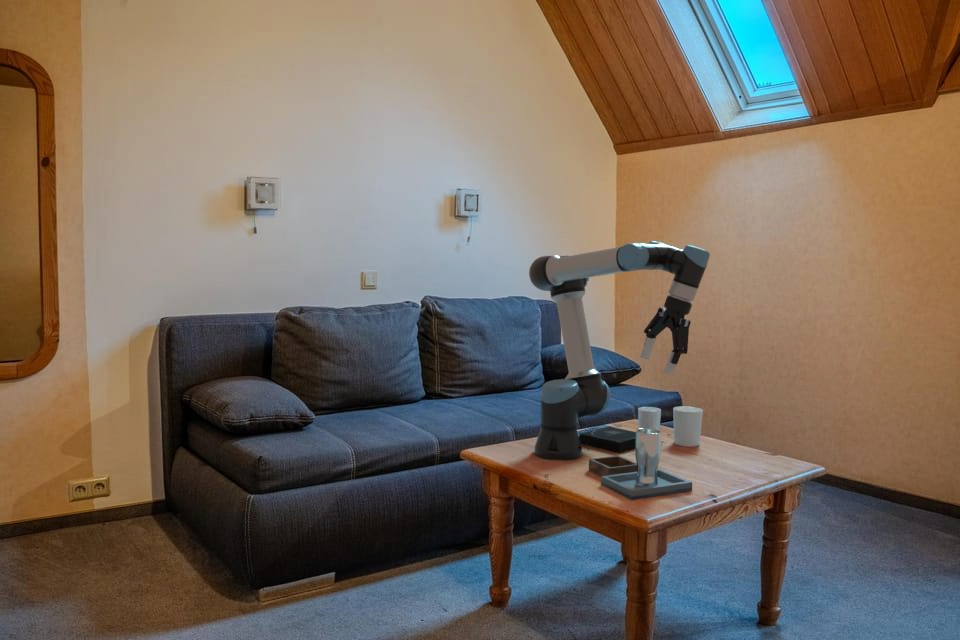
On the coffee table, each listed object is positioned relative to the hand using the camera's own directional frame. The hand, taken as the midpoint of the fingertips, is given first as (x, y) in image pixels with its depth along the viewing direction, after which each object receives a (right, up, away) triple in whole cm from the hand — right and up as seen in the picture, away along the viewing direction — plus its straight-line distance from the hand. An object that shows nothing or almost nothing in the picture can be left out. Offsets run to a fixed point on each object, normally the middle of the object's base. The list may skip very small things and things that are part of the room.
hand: (655, 365), depth 221 cm
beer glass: (-7, -32, -17) cm, 37 cm away
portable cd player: (-7, -29, +31) cm, 43 cm away
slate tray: (-7, -33, -17) cm, 37 cm away
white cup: (+8, -28, +43) cm, 52 cm away
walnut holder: (-13, -31, -3) cm, 34 cm away
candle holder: (+18, -29, +33) cm, 48 cm away
